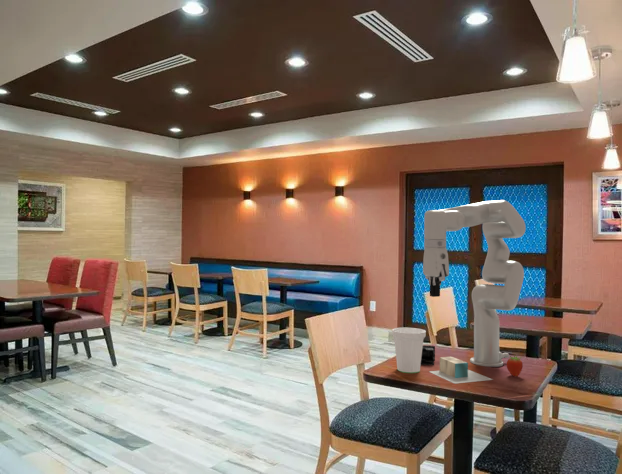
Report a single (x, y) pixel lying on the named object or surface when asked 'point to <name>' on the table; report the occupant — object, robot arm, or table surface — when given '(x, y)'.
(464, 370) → the beech block
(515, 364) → the fruit
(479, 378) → the mat
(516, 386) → the table surface
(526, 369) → the table surface
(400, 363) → the cup
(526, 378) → the table surface
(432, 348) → the black box
